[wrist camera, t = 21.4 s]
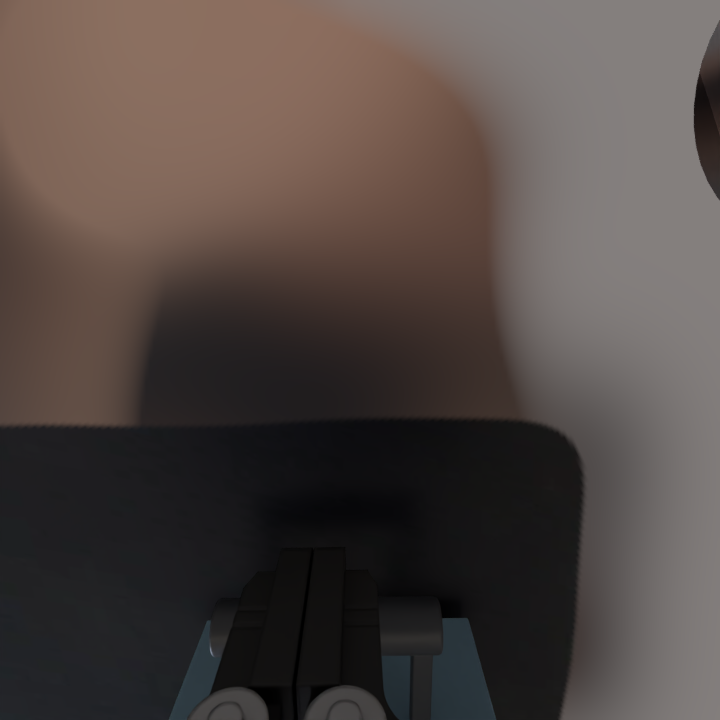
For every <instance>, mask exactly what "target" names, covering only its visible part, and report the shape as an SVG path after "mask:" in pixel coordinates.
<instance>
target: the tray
mask: <svg viewBox="0 0 720 720" xmlns="http://www.w3.org/2000/svg"><path fill="white" fill-rule="evenodd" d="M239 601H240V598H222V599H220V600H218V602H217V603H216V605H215V608H214V611H213V614H212V618H211V620H208V621H207V623H206V625H205V628H204V631H203V633H202V636H201V638H200V641H199V643H198V646H197V649H196V651H195V654H194V656H193V659H192V661H191V664H190V666H189V669H188V672H187V674H186V677H185V679H184V682H183V684H182V687H181V690H180V692H179V695H178V697H177V700H176V702H175V705H174V707H173V710H172V713H171V715H170V718H169V720H186V719H187V717H188V716H189V714H190V713H191V711H192V710H193V709H194V708H195V707H196V706H197V704H198V703H200V702H201V701H202V700H203V699H204V698H206V697H207V696H209V694H210V692H211V689H212V686H213V683H214V679H215V676H216V673H217V670H218V667H219V664H220V661H221V658H222V654H223V651H224V648H225V645H226V642H227V639H228V636H229V632H230V629H231V628H232V623H233V620H234V617H235V614H236V611H237V607H238V604H239ZM378 604H379V621H380V638H381V655H382V672H383V688H384V695H385V698H386V701H387V703H388V705H389V707H390V709H391V710H392V712H393V713H394V715H395V716H396V717H397V718H398V719H399V720H496V717H495V714H494V710H493V706H492V703H491V699H490V696H489V692H488V688H487V685H486V681H485V678H484V674H483V671H482V667H481V663H480V660H479V656H478V653H477V649H476V646H475V642H474V638H473V635H472V631H471V628H470V624H469V620H468V618H442V613H441V607H440V603H439V600H438V598H437V597H435V596H414V597H378Z"/></svg>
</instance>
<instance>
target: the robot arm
mask: <svg viewBox="0 0 720 720" xmlns="http://www.w3.org/2000/svg"><path fill="white" fill-rule="evenodd" d="M186 720H399V719H398V718H397V717H396V716H395V715H394V713H393V712H392V710H391V709H390V707H389V705H388V703H387V701H386V698H385V695H384V688H383V672H382V655H381V638H380V621H379V604H378V587H377V585H376V583H375V581H374V580H373V578H372V576H371V575H370V573H369V572H368V570H346V554H345V547H318V548H315V549H314V553H313V548H282V549H281V552H280V556H279V560H278V564H277V568H276V571H275V572H257V573H256V574H255V576H254V577H253V578H252V579H251V580H250V581H249V583H248V584H247V585H246V586H245V587H244V588H243V592H242V595H241V598H240V601H239V604H238V607H237V611H236V614H235V617H234V620H233V623H232V628H231V629H230V632H229V636H228V639H227V642H226V645H225V648H224V651H223V654H222V658H221V661H220V664H219V667H218V670H217V673H216V676H215V679H214V683H213V686H212V689H211V692H210V694H209V696H207V697H206V698H204V699H203V700H202V701H201V702H200V703H198V704H197V706H196V707H195V708H194V709H193V710H192V711H191V713H190V714H189V716H188V717H187V719H186Z"/></svg>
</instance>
